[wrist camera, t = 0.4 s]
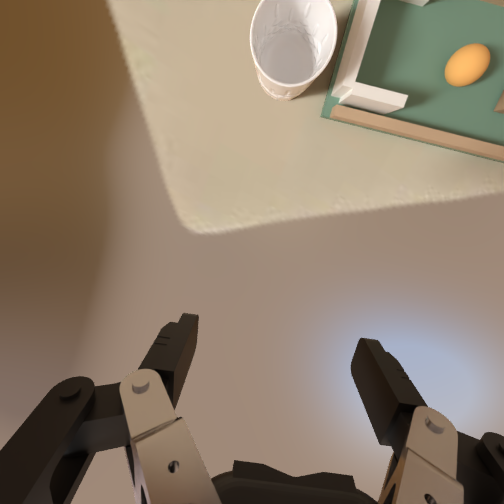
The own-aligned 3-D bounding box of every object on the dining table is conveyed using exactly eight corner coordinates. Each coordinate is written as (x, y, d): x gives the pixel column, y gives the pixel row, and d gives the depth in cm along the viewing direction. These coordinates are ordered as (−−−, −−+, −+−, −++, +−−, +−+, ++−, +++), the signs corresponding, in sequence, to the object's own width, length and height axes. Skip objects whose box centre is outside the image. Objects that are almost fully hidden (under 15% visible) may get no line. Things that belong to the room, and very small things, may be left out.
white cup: (328, 53, 32) (355, 10, 23) (296, 117, 35) (308, 102, 25) (271, 19, 31) (275, -41, 22) (243, 87, 34) (235, 60, 24)
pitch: (364, -40, 29) (389, -87, 23) (579, 20, 30) (652, -12, 24) (320, 116, 34) (331, 108, 29) (503, 162, 35) (548, 163, 30)
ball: (446, 47, 30) (472, 32, 27) (478, 56, 31) (508, 41, 27) (431, 86, 32) (453, 76, 28) (461, 94, 32) (487, 85, 28)
